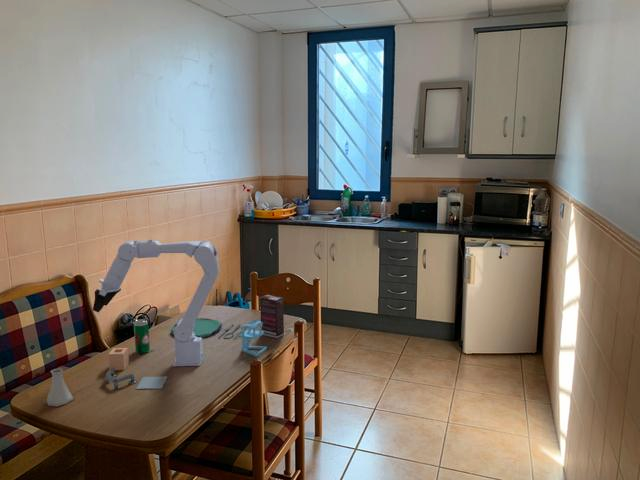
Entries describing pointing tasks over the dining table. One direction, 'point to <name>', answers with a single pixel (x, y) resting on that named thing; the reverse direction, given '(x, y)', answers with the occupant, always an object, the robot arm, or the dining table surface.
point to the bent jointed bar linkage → (111, 375)
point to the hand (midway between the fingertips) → (99, 307)
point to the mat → (152, 383)
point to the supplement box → (272, 316)
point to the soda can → (141, 336)
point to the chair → (252, 337)
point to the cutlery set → (209, 328)
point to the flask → (58, 390)
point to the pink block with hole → (118, 358)
